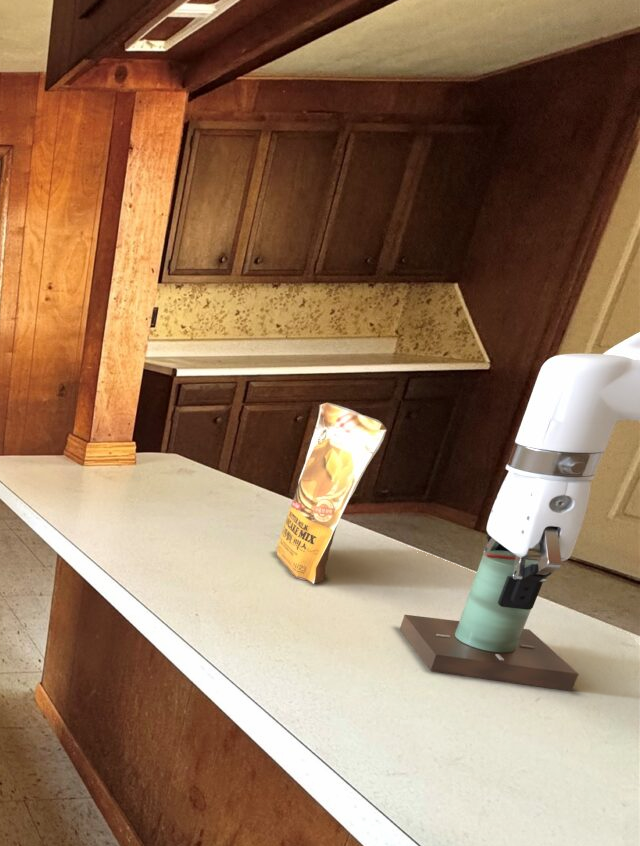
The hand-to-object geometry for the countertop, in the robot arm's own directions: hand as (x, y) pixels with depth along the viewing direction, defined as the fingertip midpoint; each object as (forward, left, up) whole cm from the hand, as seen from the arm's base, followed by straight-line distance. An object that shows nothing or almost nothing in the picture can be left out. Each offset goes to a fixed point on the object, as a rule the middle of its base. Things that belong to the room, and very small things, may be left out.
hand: (501, 594), depth 86 cm
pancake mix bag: (+15, -28, -10) cm, 33 cm away
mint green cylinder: (0, 0, -7) cm, 7 cm away
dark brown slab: (0, 0, -9) cm, 9 cm away
